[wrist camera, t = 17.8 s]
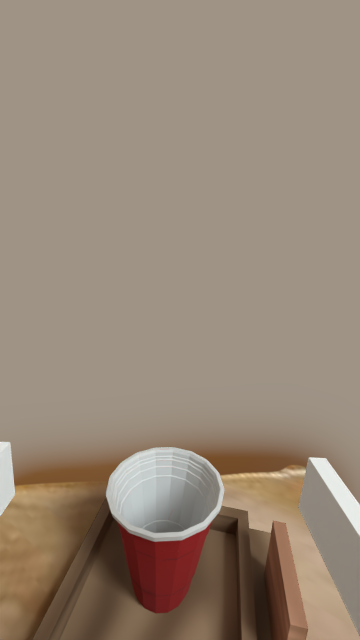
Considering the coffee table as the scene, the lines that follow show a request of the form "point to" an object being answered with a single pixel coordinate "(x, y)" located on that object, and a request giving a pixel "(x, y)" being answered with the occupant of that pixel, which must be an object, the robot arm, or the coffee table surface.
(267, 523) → the coffee table surface
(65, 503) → the coffee table surface
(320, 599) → the coffee table surface
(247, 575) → the cup dock
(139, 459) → the plastic cup
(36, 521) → the coffee table surface
